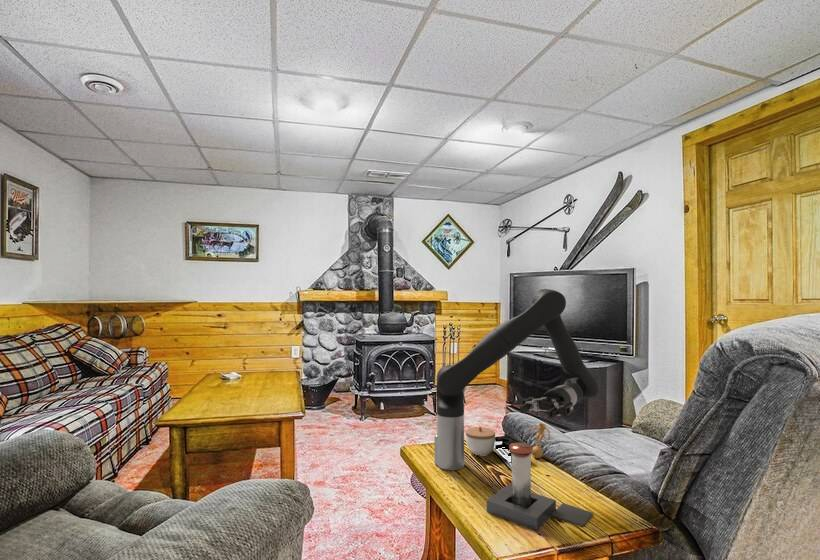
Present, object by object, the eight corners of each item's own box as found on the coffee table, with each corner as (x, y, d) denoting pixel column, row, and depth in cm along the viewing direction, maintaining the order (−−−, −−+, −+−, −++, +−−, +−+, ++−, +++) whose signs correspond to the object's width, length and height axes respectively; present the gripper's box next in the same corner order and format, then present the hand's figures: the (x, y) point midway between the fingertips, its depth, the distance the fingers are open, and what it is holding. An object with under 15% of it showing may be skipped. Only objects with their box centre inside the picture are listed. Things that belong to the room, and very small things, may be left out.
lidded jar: (475, 460, 148) (475, 433, 149) (460, 450, 158) (460, 424, 159) (501, 456, 153) (501, 429, 153) (484, 446, 163) (484, 421, 163)
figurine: (524, 455, 153) (524, 421, 154) (535, 451, 157) (535, 418, 157) (542, 462, 146) (542, 427, 147) (554, 459, 150) (554, 424, 150)
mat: (551, 516, 112) (551, 514, 112) (562, 504, 118) (562, 502, 118) (582, 526, 107) (582, 525, 107) (593, 514, 113) (593, 512, 113)
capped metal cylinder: (505, 512, 114) (505, 446, 114) (516, 503, 118) (515, 441, 119) (527, 520, 110) (526, 452, 110) (536, 511, 114) (536, 446, 115)
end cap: (527, 460, 149) (527, 441, 149) (509, 463, 146) (509, 443, 146) (511, 450, 158) (511, 432, 158) (494, 453, 156) (494, 434, 156)
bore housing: (486, 511, 114) (486, 500, 114) (508, 495, 123) (508, 484, 123) (536, 530, 105) (536, 518, 105) (555, 511, 114) (555, 500, 114)
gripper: (538, 384, 139) (512, 395, 128) (581, 389, 129) (557, 402, 118) (539, 407, 139) (513, 421, 128) (583, 414, 129) (559, 430, 118)
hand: (535, 412), depth 123 cm, fingers open, 8 cm apart
